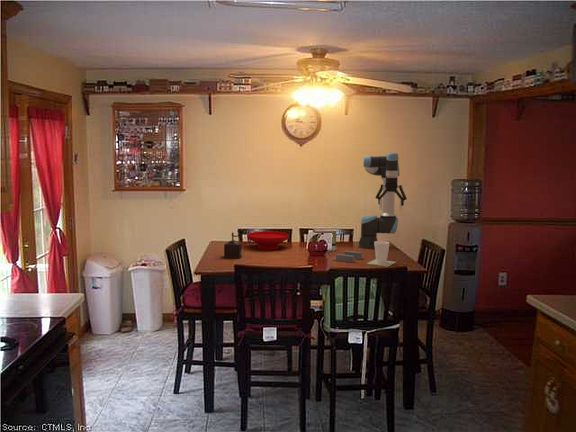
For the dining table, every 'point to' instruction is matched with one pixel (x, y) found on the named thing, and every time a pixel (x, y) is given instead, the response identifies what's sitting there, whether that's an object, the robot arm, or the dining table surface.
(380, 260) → the foam cup
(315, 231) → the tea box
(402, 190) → the robot arm
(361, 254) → the clamp
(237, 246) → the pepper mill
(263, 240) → the bowl
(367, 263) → the pad
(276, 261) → the dining table surface
